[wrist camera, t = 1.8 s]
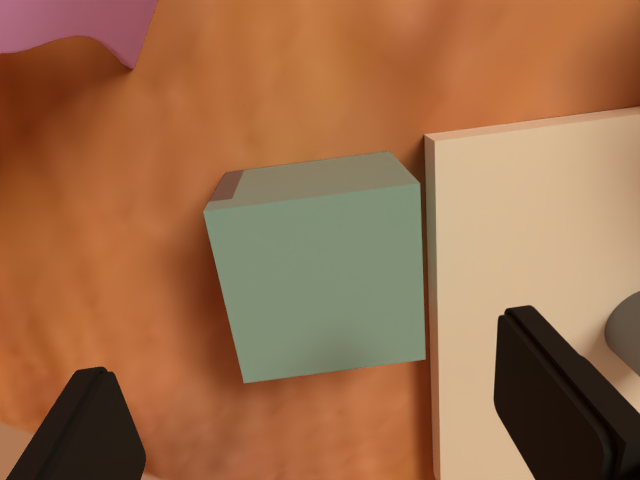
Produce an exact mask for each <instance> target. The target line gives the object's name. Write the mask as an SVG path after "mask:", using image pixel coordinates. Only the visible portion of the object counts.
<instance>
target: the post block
mask: <svg viewBox="0 0 640 480" xmlns="http://www.w3.org/2000/svg"><path fill="white" fill-rule="evenodd" d="M424 140H425V177H426V215H427V253H428V291H429V329H430V367H431V404H432V442H433V472H434V475H435V478H436V480H535V478H534V477H533V475H532V473H531V472H530V470H529V468H528V466H527V465H526V463H525V461H524V459H523V458H522V456H521V454H520V453H519V451H518V449H517V447H516V446H515V444H514V442H513V440H512V439H511V437H510V435H509V434H508V432H507V430H506V428H505V427H504V425H503V423H502V421H501V420H500V418H499V416H498V414H497V412H496V409H495V406H494V399H493V397H494V379H495V360H496V342H497V323H498V317H499V316H500V315H504V312H505V310H506V309H507V308H512V307H519V306H525V305H532V306H533V307H534V308H535V309H536V310H537V311H538V312H539V313H540V314H541V315H542V316H543V317H544V318H545V319H546V320H547V321H548V322H549V323H550V324H551V325H552V326H553V327H554V328H555V330H556V331H557V332H558V333H559V334H560V335H561V336H562V337H563V338H564V339H565V340H566V341H567V342H568V343H569V344H570V345H571V346H572V347H573V348H574V349H575V350H576V352H577V353H578V354H579V355H581V356H584V357H585V358H586V359H587V360H588V361H590V363H591V364H592V365H593V366H594V367H595V368H596V369H597V370H598V371H599V372H600V373H601V374H602V375H603V376H604V377H605V378H606V379H607V380H608V381H609V382H610V383H611V384H612V385H613V386H614V387H615V388H616V389H617V390H618V392H619V393H620V394H621V395H622V396H623V397H624V398H625V399H626V400H627V401H628V402H629V403H630V404H631V405H632V406H633V407H634V408H635V409H636V410H637V411H638V412H639V413H640V106H639V107H631V108H623V109H616V110H608V111H601V112H593V113H585V114H578V115H570V116H562V117H555V118H547V119H539V120H532V121H524V122H517V123H509V124H501V125H494V126H486V127H478V128H471V129H463V130H455V131H448V132H440V133H433V134H425V135H424Z"/></svg>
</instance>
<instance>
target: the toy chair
mask: <svg viewBox="0 0 640 480" xmlns="http://www.w3.org/2000/svg"><path fill="white" fill-rule="evenodd" d="M157 1H158V0H0V53H16V52H21V51H26V50H29V49H32V48H34V47H37V46H40V45H43V44H46V43H49V42H52V41H55V40H58V39H63V38H67V37H72V36H83V37H90V38H92V39H95V40H97V41H98V42H100V43H101V44H103V45H104V46H105V47H106V48H107V49H108V50H110V51H111V52H112V53H113V54H114V55H115V56H116V57H117V59H118V60H119V61H120V62H121V63H122V64H123V65H125V66H127V67H129V68H131V69H133V68H134V67H135V65H136V62H137V59H138V56H139V53H140V50H141V48H142V45H143V42H144V39H145V36H146V33H147V30H148V27H149V24H150V22H151V19H152V16H153V13H154V10H155V7H156V4H157Z"/></svg>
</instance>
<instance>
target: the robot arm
mask: <svg viewBox="0 0 640 480" xmlns="http://www.w3.org/2000/svg"><path fill="white" fill-rule="evenodd" d="M493 399H494V406H495V409H496V412H497V414H498V416H499V418H500V420H501V421H502V423H503V425H504V427H505V428H506V430H507V432H508V434H509V435H510V437H511V439H512V440H513V442H514V444H515V446H516V447H517V449H518V451H519V453H520V454H521V456H522V458H523V459H524V461H525V463H526V465H527V466H528V468H529V470H530V472H531V473H532V475H533V477H534V478H535V480H640V413H639V412H638V411H637V410H636V409H635V408H634V407H633V406H632V405H631V404H630V403H629V402H628V401H627V400H626V399H625V398H624V397H623V396H622V395H621V394H620V393H619V392H618V390H617V389H616V388H615V387H614V386H613V385H612V384H611V383H610V382H609V381H608V380H607V379H606V378H605V377H604V376H603V375H602V374H601V373H600V372H599V371H598V370H597V369H596V368H595V367H594V366H593V365H592V364H591V363H590V361H588V360H587V359H586V358H585V357H584V356H581V355H579V354H578V353H577V352H576V350H575V349H574V348H573V347H572V346H571V345H570V344H569V343H568V342H567V341H566V340H565V339H564V338H563V337H562V336H561V335H560V334H559V333H558V332H557V331H556V330H555V328H554V327H553V326H552V325H551V324H550V323H549V322H548V321H547V320H546V319H545V318H544V317H543V316H542V315H541V314H540V313H539V312H538V311H537V310H536V309H535V308H534V307H533V306H532V305H525V306H519V307H512V308H507V309H506V310H505V312H504V315H500V316H499V317H498V323H497V342H496V360H495V379H494V397H493ZM145 461H146V455H145V450H144V447H143V445H142V442H141V440H140V437H139V435H138V432H137V430H136V427H135V424H134V422H133V419H132V417H131V414H130V412H129V409H128V407H127V404H126V402H125V399H124V396H123V394H122V391H121V389H120V386H119V384H118V381H117V379H116V376H115V374H114V373H113V372H108V371H107V369H106V368H104V367H95V368H88V369H81V370H77V371H76V372H75V373H74V374H73V375H72V377H71V379H70V380H69V382H68V383H67V385H66V386H65V388H64V390H63V391H62V393H61V394H60V396H59V397H58V399H57V400H56V402H55V404H54V405H53V407H52V408H51V410H50V411H49V413H48V415H47V416H46V418H45V419H44V421H43V422H42V424H41V425H40V427H39V429H38V430H37V432H36V433H35V435H34V436H33V438H32V440H31V441H30V443H29V444H28V446H27V447H26V449H25V451H24V452H23V454H22V455H21V457H20V458H19V460H18V462H17V463H16V465H15V466H14V468H13V469H12V471H11V472H10V474H9V476H8V477H7V479H6V480H141V476H142V473H143V470H144V467H145Z"/></svg>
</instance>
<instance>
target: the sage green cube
mask: <svg viewBox="0 0 640 480" xmlns="http://www.w3.org/2000/svg"><path fill="white" fill-rule="evenodd" d="M203 214H204V218H205V222H206V226H207V230H208V235H209V239H210V243H211V247H212V251H213V256H214V260H215V264H216V268H217V272H218V277H219V281H220V285H221V289H222V293H223V298H224V302H225V306H226V310H227V314H228V319H229V323H230V327H231V331H232V335H233V340H234V344H235V348H236V352H237V356H238V361H239V365H240V369H241V373H242V377H243V382H244V383H251V382H258V381H266V380H274V379H281V378H289V377H296V376H304V375H312V374H319V373H327V372H335V371H342V370H350V369H357V368H365V367H373V366H380V365H388V364H395V363H403V362H411V361H418V360H426V354H425V322H424V290H423V259H422V227H421V195H420V183H419V182H418V180H417V179H416V178H415V177H414V176H413V175H412V174H411V173H410V172H409V171H408V170H407V169H406V168H405V167H404V166H403V165H402V164H401V163H400V162H399V160H398V159H397V158H396V157H395V156H394V155H393V154H392V153H391V152H390V151H386V152H378V153H370V154H363V155H355V156H348V157H340V158H332V159H325V160H317V161H309V162H302V163H294V164H286V165H279V166H271V167H264V168H256V169H248V170H241V171H233V172H226V173H225V174H224V176H223V178H222V180H221V181H220V183H219V185H218V186H217V188H216V190H215V192H214V193H213V195H212V197H211V199H210V200H209V202H208V204H207V206H206V207H205V209H204V211H203Z"/></svg>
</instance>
